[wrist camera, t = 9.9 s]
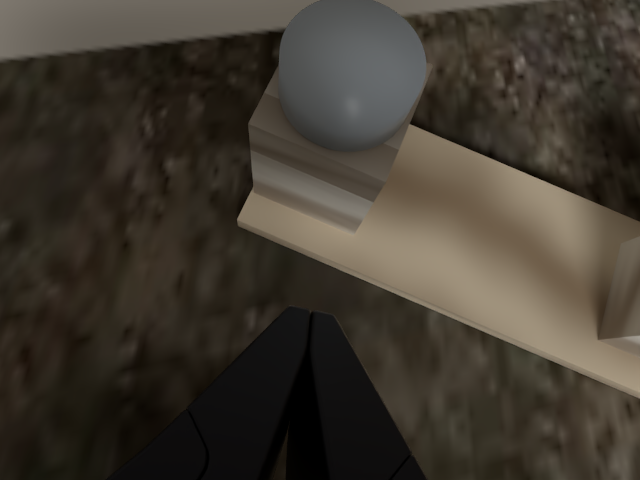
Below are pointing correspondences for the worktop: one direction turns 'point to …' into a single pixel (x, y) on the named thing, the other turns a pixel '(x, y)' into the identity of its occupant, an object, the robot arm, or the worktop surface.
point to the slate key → (349, 73)
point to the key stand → (457, 238)
